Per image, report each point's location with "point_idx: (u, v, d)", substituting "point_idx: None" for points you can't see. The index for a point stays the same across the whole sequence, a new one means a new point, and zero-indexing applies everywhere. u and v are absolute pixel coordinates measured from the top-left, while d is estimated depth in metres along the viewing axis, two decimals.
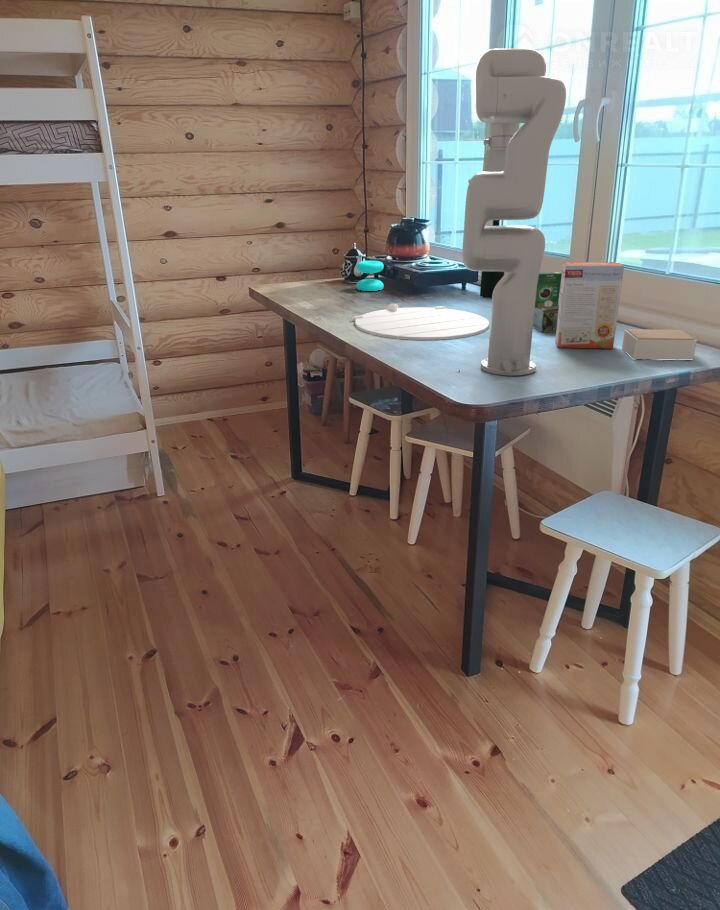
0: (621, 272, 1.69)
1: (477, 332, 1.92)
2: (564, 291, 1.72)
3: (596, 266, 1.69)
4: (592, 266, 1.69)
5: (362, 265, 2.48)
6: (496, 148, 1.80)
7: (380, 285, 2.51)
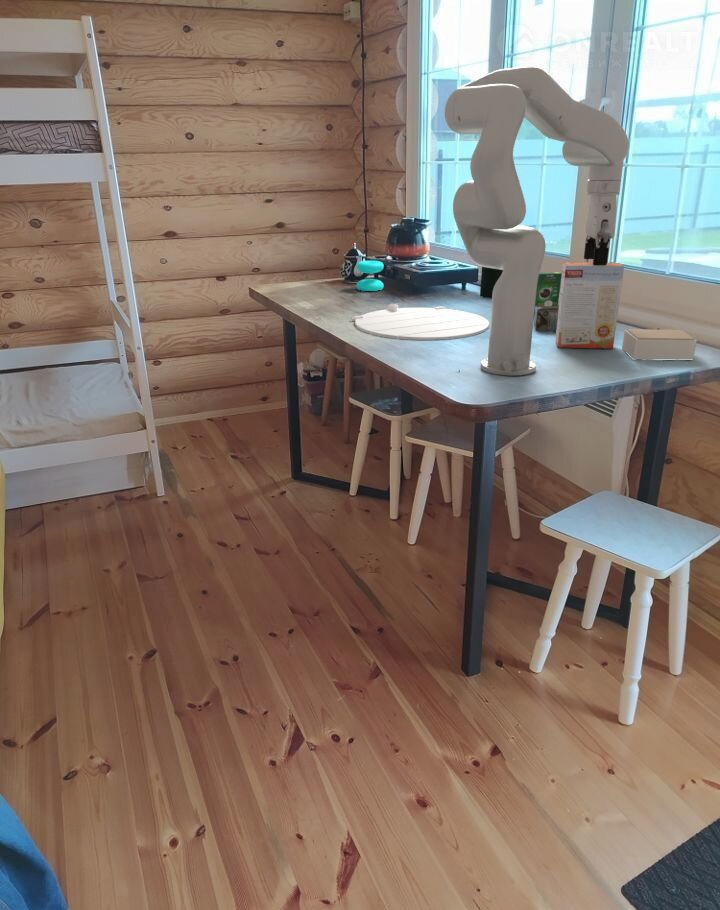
0: (621, 272, 1.69)
1: (477, 332, 1.92)
2: (564, 291, 1.72)
3: (596, 266, 1.69)
4: (592, 266, 1.69)
5: (362, 265, 2.48)
6: (618, 193, 1.63)
7: (380, 285, 2.51)
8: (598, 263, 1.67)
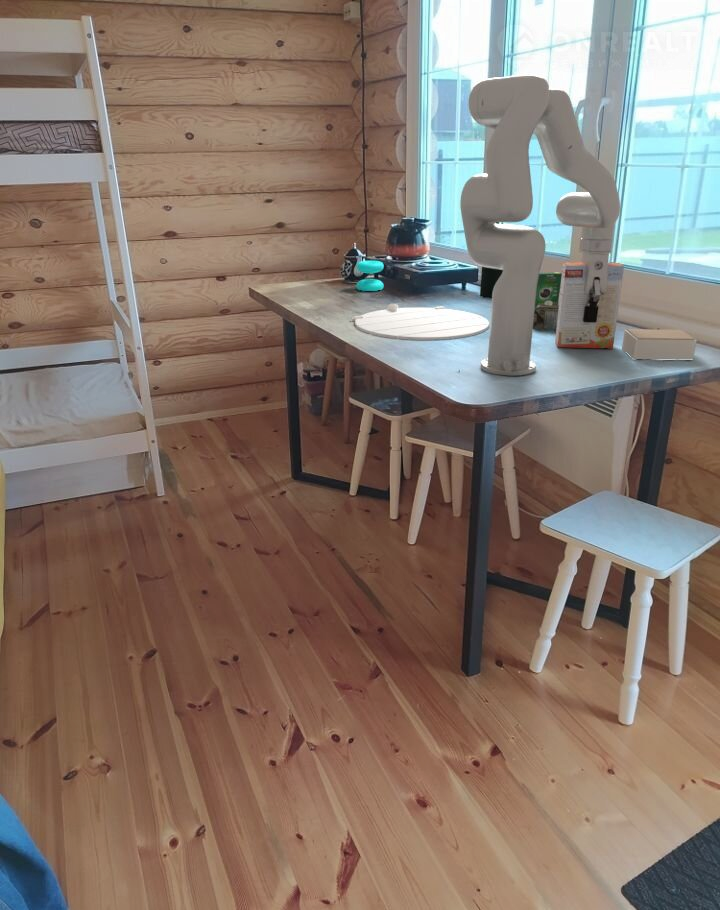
0: (621, 272, 1.69)
1: (477, 332, 1.92)
2: (564, 291, 1.72)
3: None
4: None
5: (362, 265, 2.48)
6: (609, 251, 1.68)
7: (380, 285, 2.51)
8: (588, 320, 1.73)
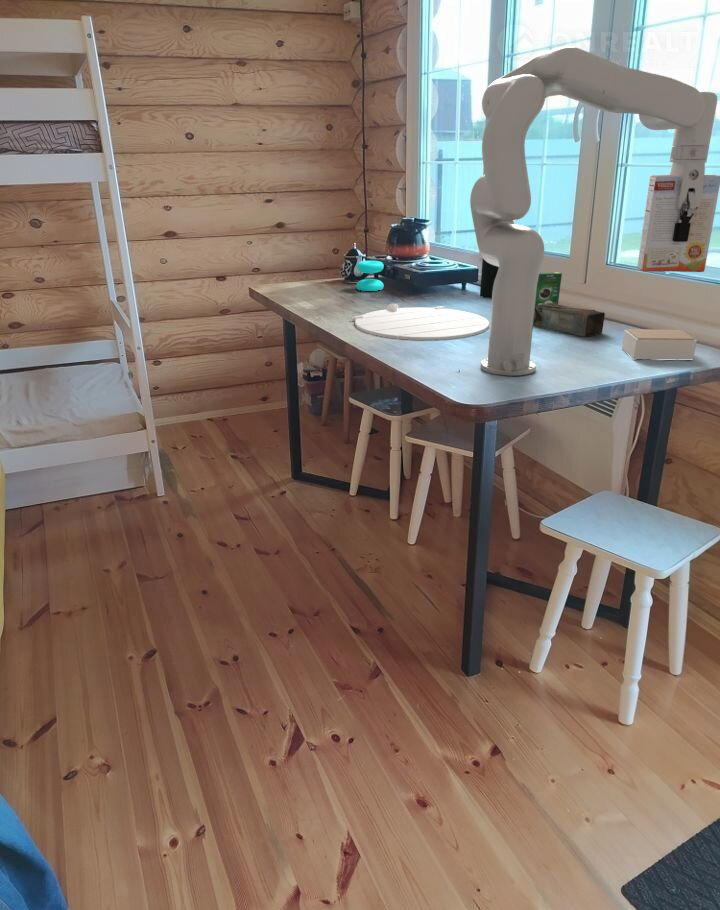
0: (718, 183, 1.52)
1: (477, 332, 1.92)
2: (653, 206, 1.56)
3: None
4: None
5: (362, 265, 2.48)
6: (705, 160, 1.51)
7: (380, 285, 2.51)
8: (678, 239, 1.57)
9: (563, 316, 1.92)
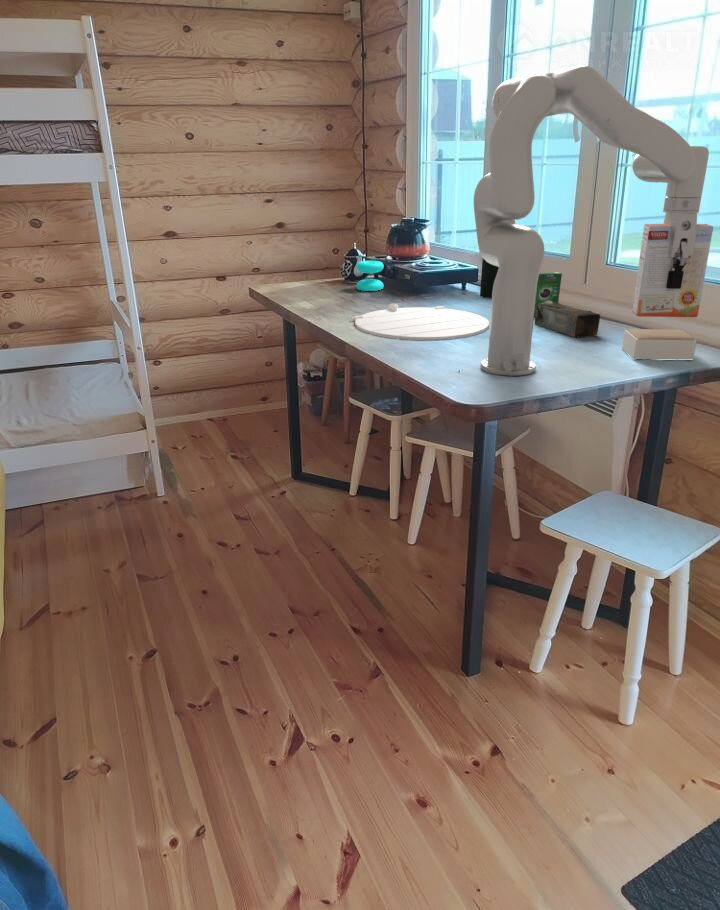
0: (710, 233, 1.56)
1: (477, 332, 1.92)
2: (647, 255, 1.60)
3: None
4: None
5: (362, 265, 2.48)
6: (698, 211, 1.56)
7: (380, 285, 2.51)
8: (672, 286, 1.61)
9: (558, 316, 1.92)
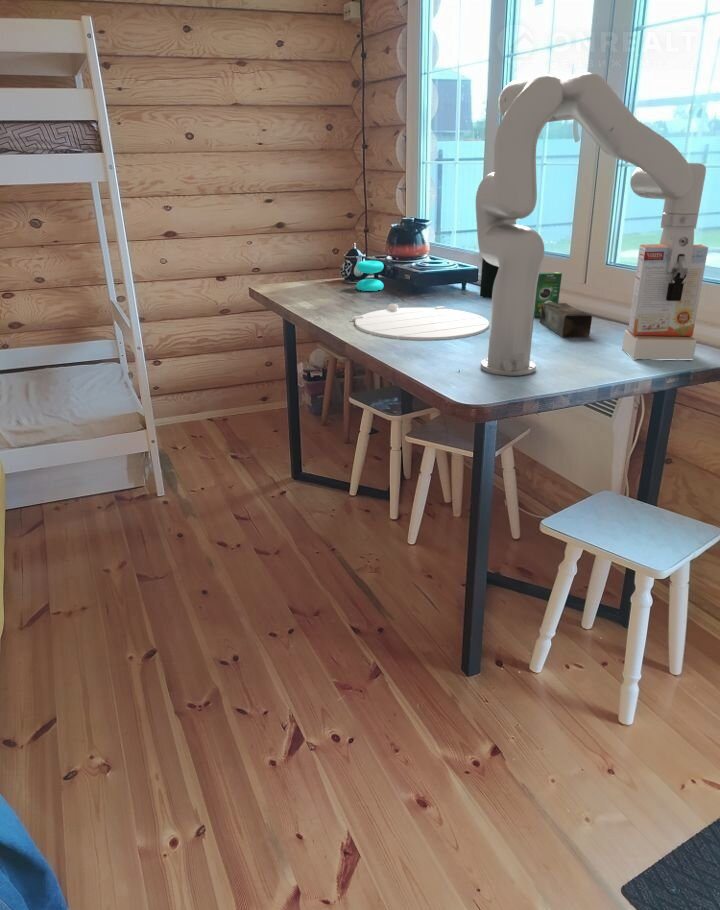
0: (705, 254, 1.58)
1: (477, 332, 1.92)
2: (643, 275, 1.62)
3: None
4: None
5: (362, 265, 2.48)
6: (695, 227, 1.57)
7: (380, 285, 2.51)
8: (672, 298, 1.61)
9: (553, 315, 1.93)
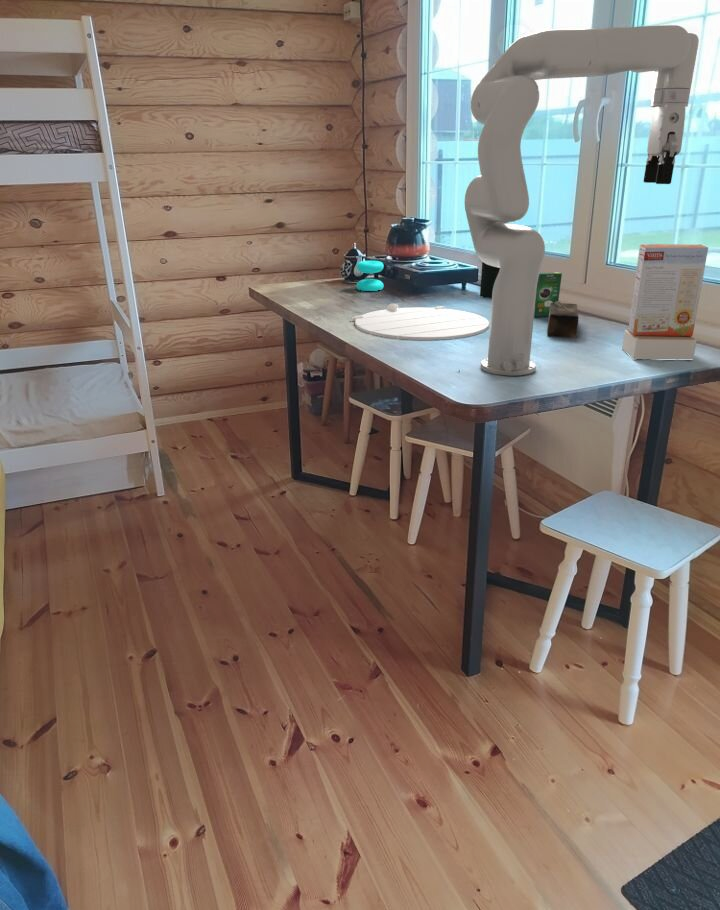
0: (705, 254, 1.58)
1: (477, 332, 1.92)
2: (643, 275, 1.62)
3: (678, 248, 1.59)
4: (674, 248, 1.59)
5: (362, 265, 2.48)
6: (686, 104, 1.50)
7: (380, 285, 2.51)
8: (661, 181, 1.53)
9: None
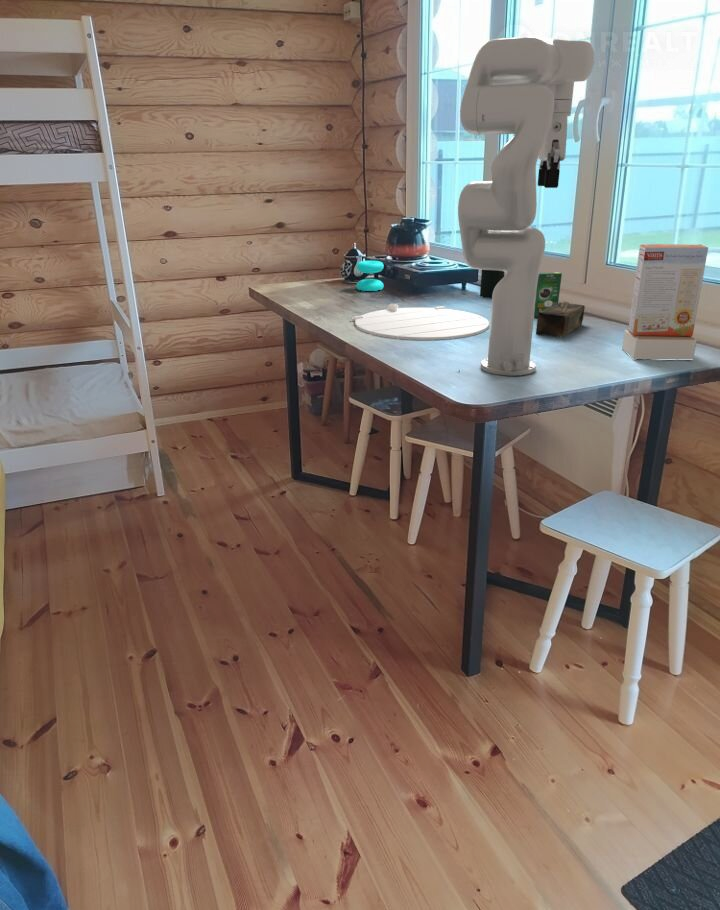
0: (705, 254, 1.58)
1: (477, 332, 1.92)
2: (643, 275, 1.62)
3: (678, 248, 1.59)
4: (674, 248, 1.59)
5: (362, 265, 2.48)
6: (569, 113, 1.62)
7: (380, 285, 2.51)
8: (549, 185, 1.66)
9: None
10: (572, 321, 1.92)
